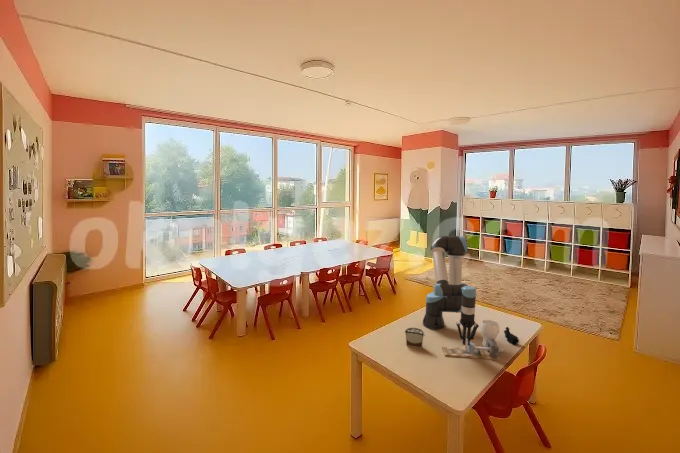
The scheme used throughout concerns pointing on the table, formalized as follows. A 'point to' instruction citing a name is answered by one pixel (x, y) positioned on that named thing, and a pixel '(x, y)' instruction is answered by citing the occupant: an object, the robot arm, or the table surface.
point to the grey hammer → (479, 348)
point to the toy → (511, 337)
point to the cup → (489, 330)
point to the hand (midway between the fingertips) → (465, 349)
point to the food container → (414, 337)
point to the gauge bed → (462, 353)
